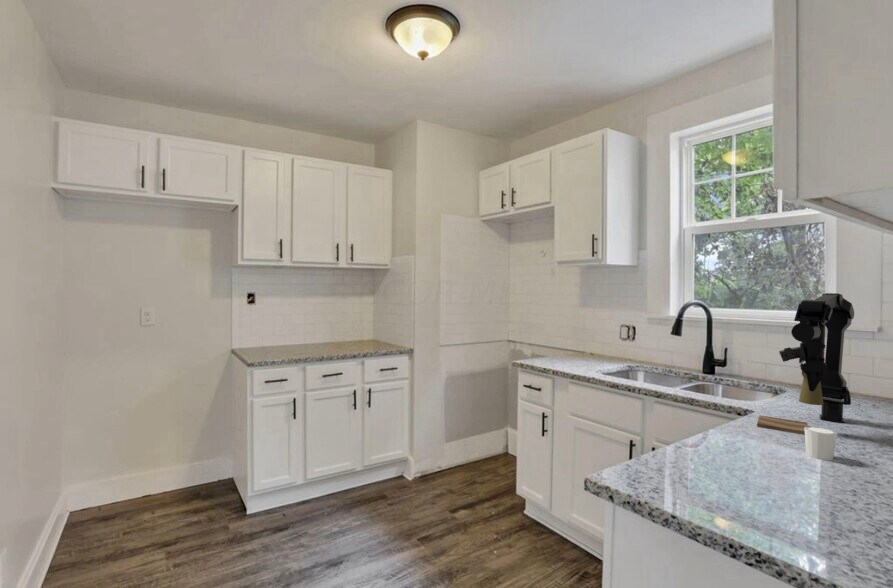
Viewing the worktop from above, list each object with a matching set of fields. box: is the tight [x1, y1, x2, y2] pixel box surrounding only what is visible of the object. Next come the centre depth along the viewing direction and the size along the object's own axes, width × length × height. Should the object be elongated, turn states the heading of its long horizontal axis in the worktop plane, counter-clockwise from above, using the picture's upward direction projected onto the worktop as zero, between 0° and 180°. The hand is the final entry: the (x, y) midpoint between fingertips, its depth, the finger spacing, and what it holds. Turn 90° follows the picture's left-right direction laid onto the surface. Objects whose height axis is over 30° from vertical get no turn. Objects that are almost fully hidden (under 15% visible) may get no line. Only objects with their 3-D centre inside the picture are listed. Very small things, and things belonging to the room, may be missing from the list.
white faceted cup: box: [804, 426, 838, 461], centre depth 124 cm, size 7×7×7 cm
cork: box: [798, 370, 823, 406], centre depth 147 cm, size 6×6×11 cm
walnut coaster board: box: [756, 415, 809, 436], centre depth 152 cm, size 13×13×1 cm
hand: (811, 389), depth 147 cm, fingers closed on cork, 4 cm apart
